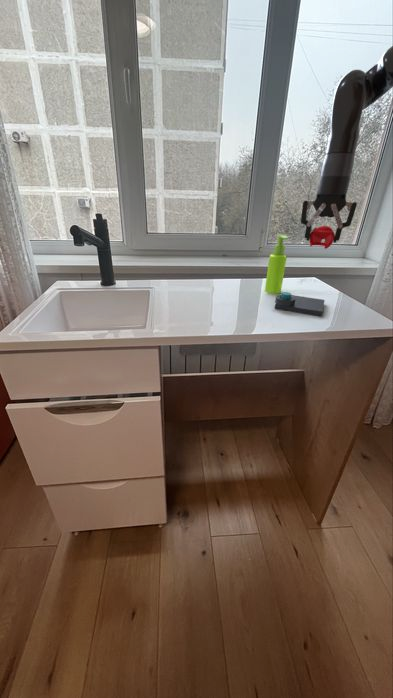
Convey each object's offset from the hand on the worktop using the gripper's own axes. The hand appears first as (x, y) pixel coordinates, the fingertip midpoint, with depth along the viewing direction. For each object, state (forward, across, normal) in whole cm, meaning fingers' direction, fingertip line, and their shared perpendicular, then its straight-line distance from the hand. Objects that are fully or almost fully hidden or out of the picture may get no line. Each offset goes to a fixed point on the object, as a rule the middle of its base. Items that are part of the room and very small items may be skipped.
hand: (321, 241), depth 84 cm
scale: (+20, -2, -1) cm, 20 cm away
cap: (+2, 0, 0) cm, 2 cm away
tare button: (+17, -7, -4) cm, 19 cm away
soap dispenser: (+21, -13, +11) cm, 27 cm away
